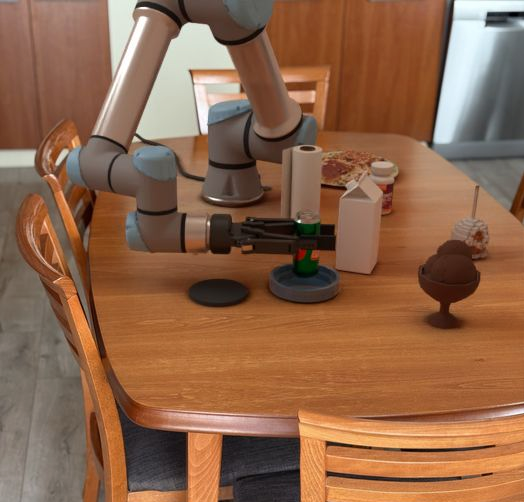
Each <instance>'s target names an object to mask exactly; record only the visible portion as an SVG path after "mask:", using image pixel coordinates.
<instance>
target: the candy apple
mask: <svg viewBox="0 0 524 502" xmlns="http://www.w3.org/2000/svg"><path fill="white" fill-rule="evenodd" d="M474 187H475V189H474V195H473V202H472V210H471V216H468V217H464V218H462V219H460V220H459V221H457V222H456V223H455V224H454V226H453V227H452V228H451V231H450V238H449V240H461V241H463V242H465V243H466V244H467V245H468V246H469V247H470V248H471V249H472V260H473V259H479V258H481V259H483V258H485V257H487V256H488V253H489V250H488V248H487V247H488V246H489V245H488V244H490V241H491V237H490V234H489V229H488V228H489V225H488V224H487V223H485V222H484V221H483V219H481V218H478V217H476V214H477V213H476V212H477V206H478V199H479V194H480V193H479V191H480V185H479V184H475V186H474Z"/></svg>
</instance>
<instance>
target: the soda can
mask: <svg viewBox="0 0 524 502" xmlns="http://www.w3.org/2000/svg"><path fill="white" fill-rule="evenodd" d="M321 224H322V219H321V217H320V212H319V213H318V212H315V211H311V210H303V211H299V212H297V213H296V216H295V218H294V223H293V236H297V237H300V234H303V235H320V233H321ZM320 252H321V250H300V249H299V255H291V256H292V257H291V259H292V260H291V263H292V272H293V274H294V275H295V276H297V277H300V278H312V277H314V276H316V275H317V274H318V272H319V264H320Z"/></svg>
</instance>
